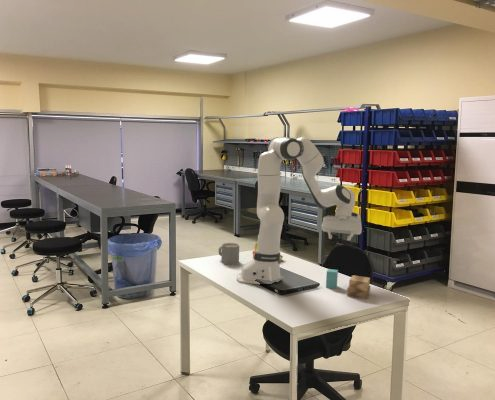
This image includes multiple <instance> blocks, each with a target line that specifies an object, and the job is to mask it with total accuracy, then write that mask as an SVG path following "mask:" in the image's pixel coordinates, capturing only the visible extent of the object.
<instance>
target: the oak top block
mask: <svg viewBox="0 0 495 400" xmlns="http://www.w3.org/2000/svg"><path fill="white" fill-rule="evenodd" d="M348 281H349V282H348V287H349V288H350V289H357V290H363V291H367V290H368V288H369V286H370V283H371V277H367V276H361V275H360V276H359V275H351V277H350V279H349V280H348Z"/></svg>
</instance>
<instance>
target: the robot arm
mask: <svg viewBox="0 0 495 400" xmlns="http://www.w3.org/2000/svg"><path fill="white" fill-rule="evenodd" d="M295 159H297V160H298V163H299V164H300V165H301V168H302V170H301V175H302V178H303V180H304V182H305V183H306V184H305V185H306V186H307V188H308V189H309V192H310V194H311V196H312V199H313V202H314V204H315V205H316V207H318V208H319V209H320V210H321V209H322V210H325V209H328V208H331V207H333V206H336V207H337V208H336V210H335V215H329V214H328V215H326V216H324V217H322V224H321V230H322V232H326V233H327V234H328V239H329V240H332V239H333V234H331V233H335V234H336V233H338V234H348V235H347V238H346V240H347V241H351V239H352V238H353V237H354V235H361V234H362V230H363V228H362V227H363V226H362V220H361V219H362V218H361V215H360V213H357V212H354V209H355V205H356V194H355V192H354V191H353V190H352V189H350V188H346V187H345V186H343V185H342V184H336V185H334V186H330V187H327V188H320V187H321V186H320V185H319V183H318V181H317V180H316V178H315V177H316V175H317V174H318V173H319V172H320V171H321V170H322V168H323V166H324V157H323V155H322V154H321V152H320V151H319V149H318V148H317V146H315V145H314V143H313V142H312V141H311V140H310V139H309V138H307V137H306V136H300V137H297V138H294V137H287V136H279V137H274V138H271V139H270V140H269V142H268V144H267V146H266V148H265V151H264V152H263V153H260V155H259V158H258V162H257V163H258V164H257V200H256V216H257V218H258V219H259V220H260V223H259V232H258V234H257V243H258V250H257V251H255V250H253V251H252V259H251V260H249V261H248V262H246V263H245V264H244V265H243V266H242V268H241V272H240V273H238V274H237V275H236V281H237V282H238V283H240V284H241V283H242V284H243V283H244V284H250V285H251V284H253V285H260V283H259V282H257V281H255V280H256V279H262V280H270V281H273V280H277V279H279V278H281V279H282V276H281V274H282V273H281V267H280V266H281V265H280V264H281V261H280V257H281V255H282V254H281V252H280V250H281V234H282V230H283V225H284V221H285V213H284V211H283V209H282V208H281V206H280V205H279V201H280V195H281V194H280V193H281V189H282V188H281V166H282V165H281V164H282V162H283V161H293V160H295Z"/></svg>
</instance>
